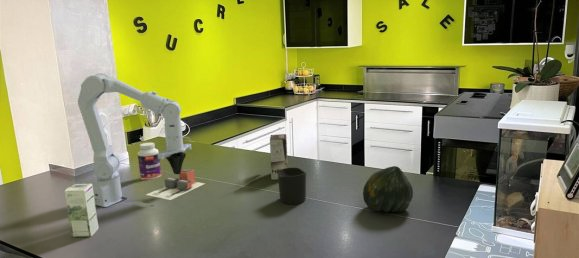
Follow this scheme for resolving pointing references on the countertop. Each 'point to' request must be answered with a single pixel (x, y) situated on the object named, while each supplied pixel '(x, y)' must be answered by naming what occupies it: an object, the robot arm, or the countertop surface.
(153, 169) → the pill bottle
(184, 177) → the cap
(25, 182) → the countertop surface
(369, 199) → the squash
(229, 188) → the countertop surface
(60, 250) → the countertop surface
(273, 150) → the coffee box
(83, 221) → the syrup box
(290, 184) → the pen holder
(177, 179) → the block
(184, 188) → the breaker
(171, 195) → the board
